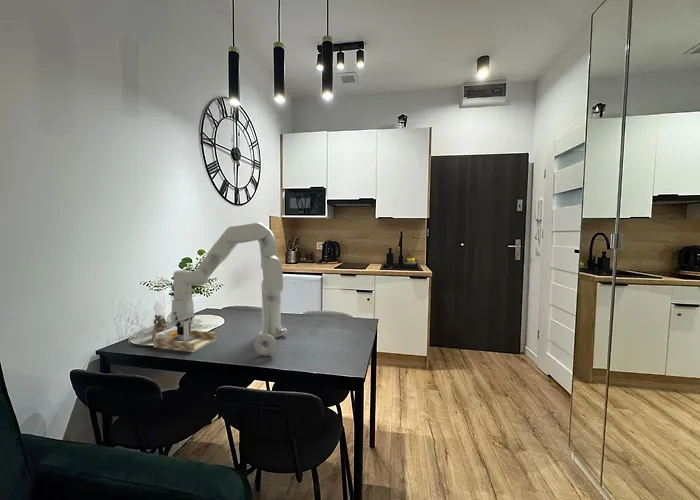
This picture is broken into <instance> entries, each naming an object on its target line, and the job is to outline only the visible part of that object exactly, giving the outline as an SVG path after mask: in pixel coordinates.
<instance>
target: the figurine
mask: <svg viewBox="0 0 700 500" xmlns="http://www.w3.org/2000/svg"><path fill="white" fill-rule="evenodd" d="M153 323H154V324H153V325H154V326H153V328H152V334H151V335H152V336H151V339H152V340H153V339H154V338H156V334H157V333H160V332H163V331H165V330H168V322H167V320H166V317H165V316H164V315H163V314H159V315H157V314H155V315H154V320H153Z"/></svg>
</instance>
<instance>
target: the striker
mask: <svg viewBox="0 0 700 500" xmlns="http://www.w3.org/2000/svg"><path fill="white" fill-rule="evenodd" d="M179 323H180V322H179ZM182 327H184V335H177V336H174V337H173V340H174V341H182V342H189V341H191V340H193V339H194V337H191V336H189V320H183V326H182Z"/></svg>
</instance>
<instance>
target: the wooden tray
mask: <svg viewBox="0 0 700 500" xmlns="http://www.w3.org/2000/svg"><path fill="white" fill-rule="evenodd" d="M189 336H191V337H194V339H193V340H191V341H189V342H182V341H174V340H166V339H158V338H154V339H152V341H153V342H152V343H153V345H152V346H153V348H156V349H157V348H158V349H164V350H171V351H172V350H173V351H180V352H189V353H194V352H196V351H199V350H200V349H203V348H205V347H206V346H208V345H210V344H212V343H214V342H216V341H217V333H216V332H213V331H204V330H195V329H190V332H189Z"/></svg>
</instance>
